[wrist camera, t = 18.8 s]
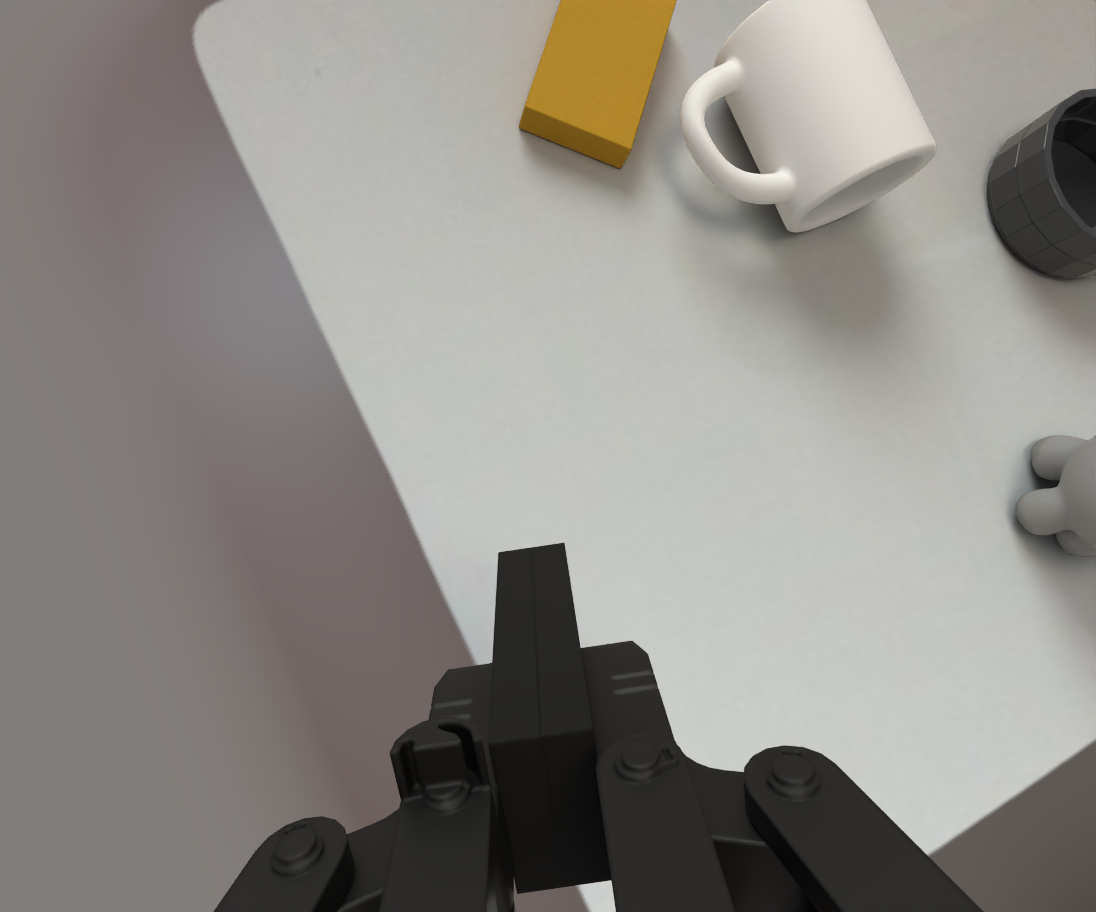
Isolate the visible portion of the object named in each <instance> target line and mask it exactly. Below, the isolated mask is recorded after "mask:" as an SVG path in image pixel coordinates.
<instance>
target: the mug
mask: <svg viewBox="0 0 1096 912" xmlns="http://www.w3.org/2000/svg"><path fill="white" fill-rule="evenodd" d="M722 97H725V99H726V101H727V103H728V105H729V107H730V109H731V112H732V114H733V116H734V118H735V120H736V122H737V124H738V126H739V129H740V131H741V133H742V135H743V137H744V139H745V141H746V144H747V146H748V148H749V150H750V152H751V154H752V156H753V158H754V161H755V163H756V165H757V167H758V169H759V171H760V173H761V174H754V173H749V172H745V171H743V170H740V169H738V168H736V167H735V166H733V165H732V164H730V163H729V162H728V161H727V160H726V159H725V158H724V157H723V156H722V155H721V154H720V152H719V151H718V149H717V148H716V146H715V145H714V143H713V142H712V140H711V138H710V136H709V134H708V132H707V130H706V127H705V122H704V116H705V113H706V110H707V109H708V107H709V106H710V105H711V104H712V103H714V102H715V101H717V100H718V99H720V98H722ZM680 121H681V129H682V133H683V136H684V140H685V142H686V145H687V147H688V149H689V151H690V153H691V155H692V157H693V158H694V160H695V162H696V163H697V165H698V166H699V168H700V169H701V170H702V171H703V173H704V174H705V175H706V176H707V177H708V178H709V179H710V180H711V181H712V182H713V183H714V184H715V185H716V186H717V187H718V188H720V189H721V190H722V191H724V192H725V193H727V194H729V195H730V196H732V197H734V198H737V199H739V200H742V201H745V202H748V203H754V204H775V205H776V208H777V210H778V212H779V214H780V216H781V218H782V220H783V223H784V225H785V227H786V229H787V230H788V231H790V232H803V231H808V230H811V229H814V228H817V227H820V226H823V225H825V224H828V223H830V222H832V221H835V220H837V219H839V218H841V217H844V216H846V215H848V214H850V213H852V212H854V211H856V210H858V209H860V208H862V207H864V206H865V205H867V204H869V203H871V202H873V201H874V200H876V199H878V198H880V197H881V196H883V195H885V194H886V193H888V192H890V191H891V190H893V189H894V188H896V187H898V186H899V185H901V184H902V183H904V182H905V181H906V180H908V179H909V178H911V177H912V176H913V175H915V174H916V173H917V172H919V171H920V170H921V169H922V168H923V167H925V166H926V165H927V164H928V163H929V162H930V161H931V159H932V158H933V157H934V155H935V154H936V151H937V146H936V143H935V141H934V139H933V137H932V135H931V133H930V131H929V129H928V127H927V125H926V123H925V121H924V119H923V117H922V115H921V113H920V111H919V108H918V106H917V104H916V102H915V100H914V98H913V96H912V94H911V92H910V90H909V88H908V86H907V84H906V82H905V80H904V78H903V76H902V73H901V71H900V69H899V67H898V65H897V63H896V61H895V59H894V57H893V55H892V53H891V51H890V49H889V47H888V45H887V43H886V41H885V38H884V36H883V34H882V32H881V30H880V28H879V26H878V24H877V22H876V20H875V18H874V16H873V14H872V12H871V10H870V8H869V6H868V3H867V1H866V0H769V1H767V2H766V3H765V4H763V5H762V6H761V7H760V8H758V9H757V10H756V11H755V12H753V13H752V14H751V15H750V16H749V17H748V18H747V19H745V20H744V21H743V22H742V23H741V24H740V25H739V26H738V27H737V28H736V29H735V30H734V32H733V33H732V34H731V35H730V36H729V38H728V39H727V40H726V42H725V43H724V44H723V46H722V48H721V49H720V51H719V53H718V55H717V57H716V60H715V63H714V68H713V69H711V70H710V71H708V72H706V73H705V74H704V75H702V76H701V77H700V78H699V79H697V80H696V81H695V82H694V83H693V85H692V86H691V87H690V88H689V90H688V91H687V93H686V95H685V97H684V99H683V102H682V106H681V113H680Z"/></svg>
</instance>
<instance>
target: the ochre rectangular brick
mask: <svg viewBox="0 0 1096 912" xmlns="http://www.w3.org/2000/svg"><path fill="white" fill-rule="evenodd" d="M676 1H677V0H561V2H560V4H559V7H558V10H557V13H556V16H555V19H554V22H553V25H552V28H551V31H550V34H549V37H548V39H547V42H546V45H545V48H544V51H543V54H542V57H541V60H540V63H539V66H538V69H537V72H536V74H535V77H534V80H533V83H532V86H531V89H530V92H529V95H528V98H527V101H526V104H525V107H524V110H523V114H522V117H521V121H520V124H519V128H520V129H522V130H525V131H527V132H530V133H532V134H535V135H537V136H540V137H542V138H545V139H547V140H550V141H552V142H555V143H557V144H560V145H562V146H565V147H567V148H570V149H572V150H575V151H577V152H580V153H582V154H585V155H587V156H590V157H592V158H595V159H597V160H600V161H602V162H604V163H607V164H609V165H612V166H614V167H617V168H621V167H622V165H623V163H624V162H625V160H626V158H627V156H628V155H629V153H630V151H631V149H632V146H633V143H634V139H635V136H636V133H637V130H638V126H639V123H640V120H641V116H642V113H643V110H644V106H645V103H646V100H647V97H648V93H649V90H650V87H651V83H652V80H653V77H654V73H655V70H656V67H657V64H658V60H659V57H660V54H661V50H662V47H663V44H664V41H665V37H666V34H667V31H668V27H669V24H670V21H671V17H672V14H673V11H674V8H675V4H676Z"/></svg>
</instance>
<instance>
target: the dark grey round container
mask: <svg viewBox="0 0 1096 912" xmlns="http://www.w3.org/2000/svg"><path fill="white" fill-rule="evenodd" d="M987 197H988V205H989V209H990V213H991V216H992V219H993V222H994V225H995V227H996V229H997V231H998V233H999V234H1000V236H1001V237H1002V239H1003V241H1004V242H1005V243H1006V245H1007V246H1008V247H1009V248H1010V250H1011V251H1012V252H1013V253H1014V254H1015V255H1016V256H1017V257H1018V258H1019V259H1021V260H1022V261H1023V262H1024V263H1026V264H1027V265H1029V266H1030V267H1032V268H1033V269H1036V270H1038V271H1040V272H1042V273H1045V274H1048V275H1051V276H1056V277H1065V278H1069V279H1076V278H1081V277H1087V276H1092V275H1096V89H1088V90H1081V91H1078V92H1077V93H1075V94H1074V95H1072V96H1070V97H1069V98H1067V99H1065V100H1064V101H1062V102H1061V103H1059V104H1058V105H1056V106H1055V107H1053V108H1052V109H1051V110H1049V111H1048V112H1046V113H1045V114H1044V115H1042V116H1041V117H1039V118H1038V119H1036V120H1035V121H1034V122H1032V123H1031V124H1029V125H1028V126H1027V127H1025V128H1024V129H1022V130H1021V131H1019V132H1018V133H1017V134H1015V135H1014V136H1012V137H1011V138H1009V139H1008V140H1007V141H1006V142H1005V144H1004V145H1003V147H1002V148H1001V150H1000V152H999V153H998V155H997V156H996V158H995V160H994V161H993V165H992V167H991V169H990V173H989V177H988V185H987Z"/></svg>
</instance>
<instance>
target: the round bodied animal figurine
mask: <svg viewBox="0 0 1096 912" xmlns="http://www.w3.org/2000/svg"><path fill="white" fill-rule="evenodd" d="M1031 462H1032V466H1033V468H1034V470H1035V472H1036V473H1037V474H1038V475H1039V476H1040V477H1042V478H1044V479H1048V480H1060V482H1059V484H1058V486H1057V487H1054V488H1048V489H1039V490H1034V491H1030V492H1028V493H1026V494H1025V495H1023V496H1022V497H1021V498H1020V499H1019V501H1018V502H1017V504H1016V515H1017V517H1018V520H1019V522H1020V523H1021V525H1022V526H1023V527H1024V528H1025V529H1026V530H1027V531H1028V532H1030V533H1032V534H1035V535H1050V534H1054V533H1056V537H1057V540H1058V543H1059V544H1060V546H1061V547H1062V549H1063V550H1064V551H1066V552H1067V553H1069V554H1071V555H1075V556H1092V555H1096V436H1095V437H1093V438H1092V439H1090V440H1084V439H1081V438H1077V437H1072V436H1062V435H1058V436H1049V437H1046V438H1043V439H1041V440H1040V441H1038V442H1037V443H1036V444H1035V445H1034V446H1033V448H1032V452H1031Z"/></svg>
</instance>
